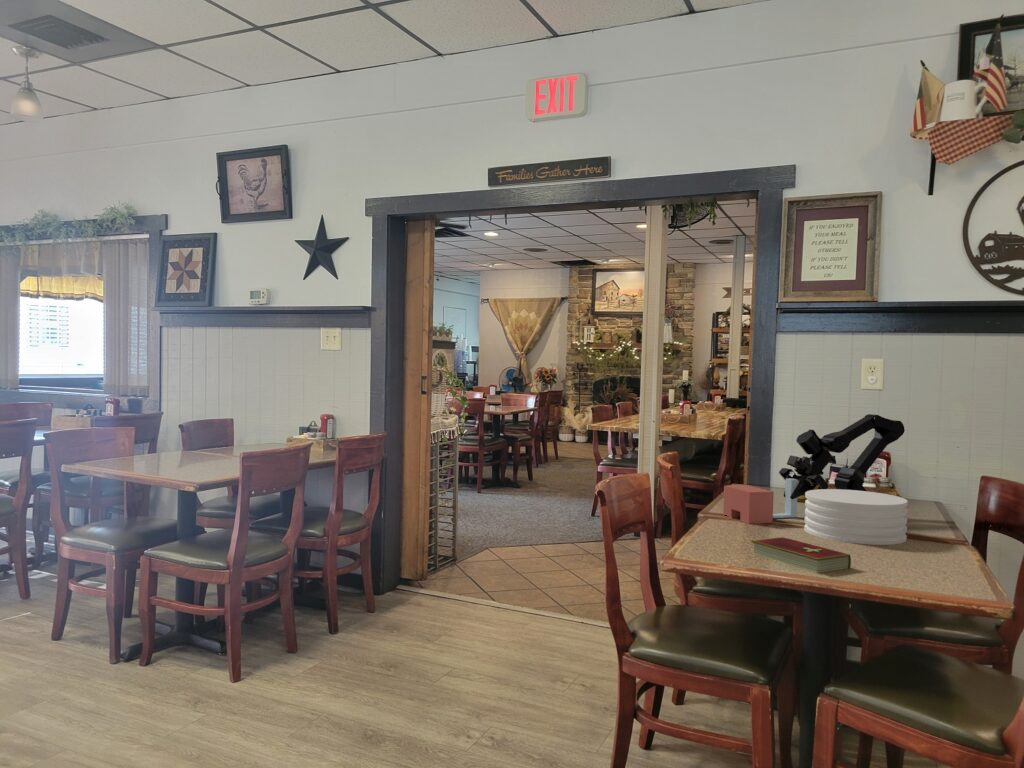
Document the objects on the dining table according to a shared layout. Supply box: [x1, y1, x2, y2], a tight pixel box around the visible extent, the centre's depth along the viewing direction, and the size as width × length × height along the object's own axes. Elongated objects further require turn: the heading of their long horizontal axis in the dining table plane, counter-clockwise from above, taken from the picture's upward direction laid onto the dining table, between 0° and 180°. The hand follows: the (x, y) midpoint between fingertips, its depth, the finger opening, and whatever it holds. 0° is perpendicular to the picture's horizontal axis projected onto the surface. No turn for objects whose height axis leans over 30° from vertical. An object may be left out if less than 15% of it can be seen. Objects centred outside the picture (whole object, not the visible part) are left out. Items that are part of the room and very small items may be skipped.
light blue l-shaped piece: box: [773, 478, 798, 519], centre depth 247 cm, size 13×3×12 cm, turn 108°
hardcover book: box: [750, 536, 852, 574], centre depth 189 cm, size 12×21×4 cm, turn 28°
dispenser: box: [722, 484, 775, 525], centre depth 243 cm, size 10×14×10 cm
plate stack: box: [803, 488, 909, 546], centre depth 224 cm, size 28×28×12 cm
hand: (787, 497), depth 248 cm, fingers closed on light blue l-shaped piece, 3 cm apart
